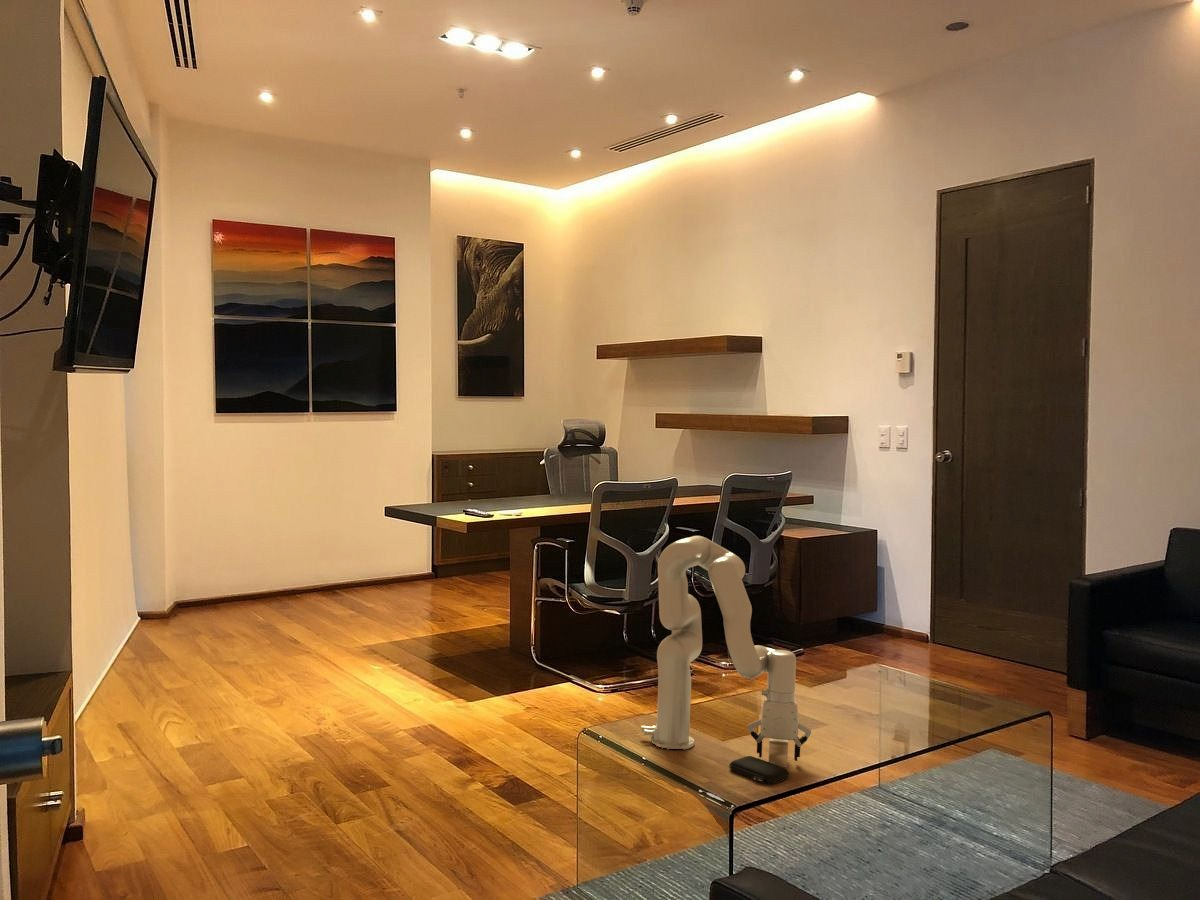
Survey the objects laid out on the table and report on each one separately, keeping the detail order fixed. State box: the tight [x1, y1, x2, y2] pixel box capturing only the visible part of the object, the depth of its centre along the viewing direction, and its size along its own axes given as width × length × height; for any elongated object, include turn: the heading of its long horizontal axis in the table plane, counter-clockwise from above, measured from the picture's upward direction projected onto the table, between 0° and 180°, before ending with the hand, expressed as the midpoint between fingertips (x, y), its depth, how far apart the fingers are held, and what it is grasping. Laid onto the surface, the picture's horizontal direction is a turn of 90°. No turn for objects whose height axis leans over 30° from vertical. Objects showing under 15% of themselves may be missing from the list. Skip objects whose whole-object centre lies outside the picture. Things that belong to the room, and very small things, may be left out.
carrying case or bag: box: [728, 755, 790, 785], centre depth 251 cm, size 11×3×15 cm
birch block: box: [768, 738, 789, 768], centre depth 260 cm, size 5×5×6 cm
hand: (778, 757), depth 260 cm, fingers open, 9 cm apart
